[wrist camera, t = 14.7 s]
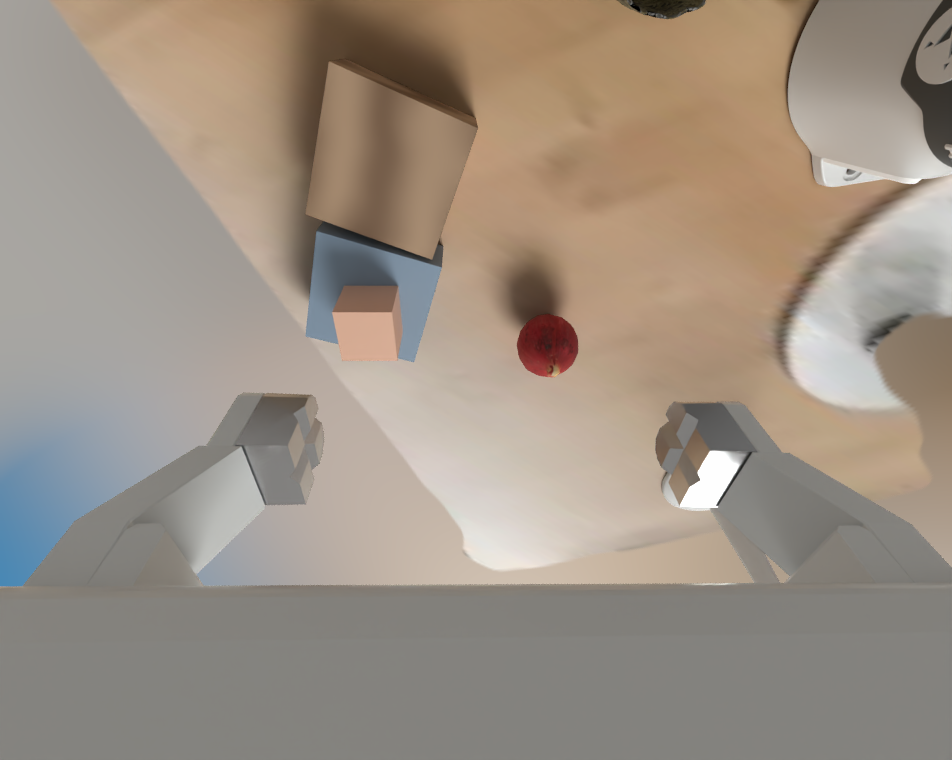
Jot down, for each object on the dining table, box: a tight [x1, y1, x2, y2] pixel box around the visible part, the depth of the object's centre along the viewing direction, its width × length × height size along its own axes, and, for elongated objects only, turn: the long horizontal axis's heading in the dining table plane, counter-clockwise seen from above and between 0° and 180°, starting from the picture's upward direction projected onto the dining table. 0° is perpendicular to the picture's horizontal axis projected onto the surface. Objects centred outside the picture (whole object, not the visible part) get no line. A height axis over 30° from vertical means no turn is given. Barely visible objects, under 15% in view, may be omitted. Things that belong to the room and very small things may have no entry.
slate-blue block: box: [306, 221, 443, 362], centre depth 40 cm, size 10×10×5 cm
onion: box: [517, 314, 578, 377], centre depth 42 cm, size 6×6×8 cm
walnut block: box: [305, 59, 478, 260], centre depth 33 cm, size 10×10×5 cm
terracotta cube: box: [332, 286, 403, 361], centre depth 36 cm, size 4×4×4 cm
